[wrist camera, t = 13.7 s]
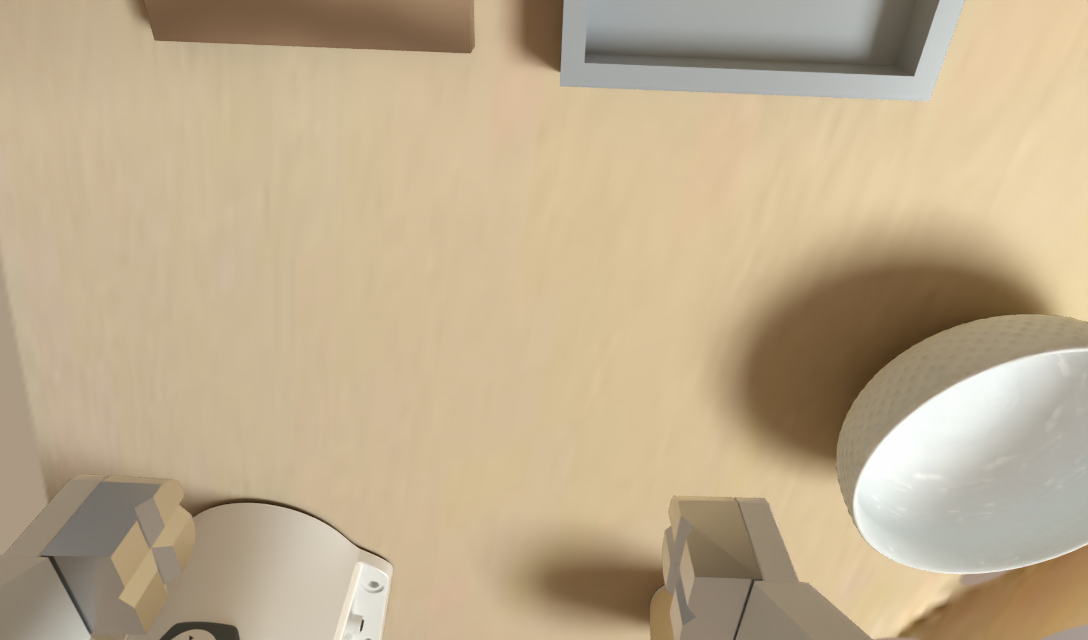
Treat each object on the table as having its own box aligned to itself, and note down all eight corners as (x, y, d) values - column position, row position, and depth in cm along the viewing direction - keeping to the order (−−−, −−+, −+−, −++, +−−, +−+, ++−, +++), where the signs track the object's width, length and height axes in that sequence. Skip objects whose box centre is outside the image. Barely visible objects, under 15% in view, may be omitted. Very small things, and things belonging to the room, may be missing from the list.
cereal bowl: (958, 514, 46) (1015, 606, 40) (758, 441, 43) (788, 529, 37) (1173, 336, 37) (1286, 420, 31) (942, 228, 34) (1020, 299, 28)
